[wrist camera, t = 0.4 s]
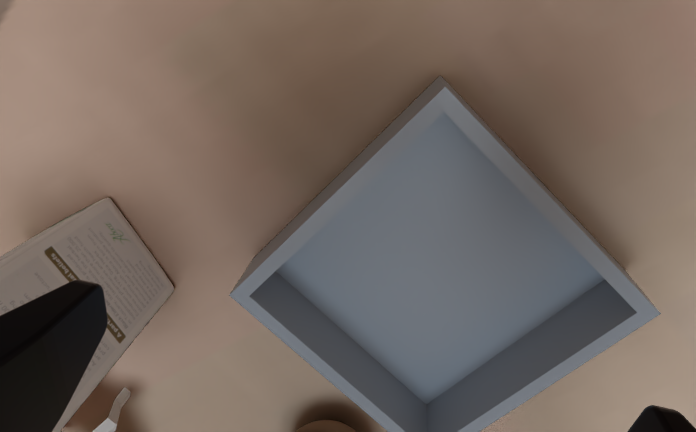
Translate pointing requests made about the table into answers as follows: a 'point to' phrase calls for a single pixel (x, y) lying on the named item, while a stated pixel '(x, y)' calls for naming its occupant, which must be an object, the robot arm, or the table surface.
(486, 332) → the bin
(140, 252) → the syrup box
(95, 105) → the table surface
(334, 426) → the walnut ball
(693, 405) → the table surface
